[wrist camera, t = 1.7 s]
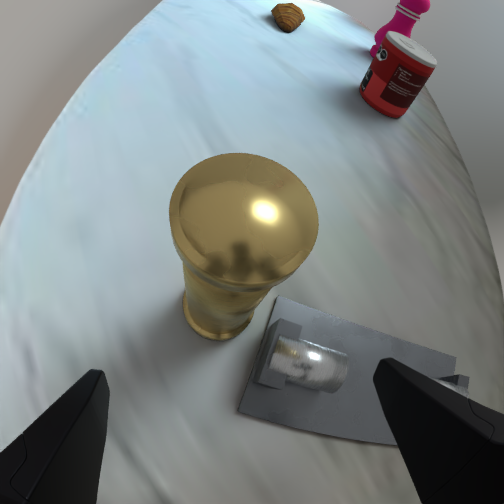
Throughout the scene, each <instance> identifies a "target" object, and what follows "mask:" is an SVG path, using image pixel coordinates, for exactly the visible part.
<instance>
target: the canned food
mask: <svg viewBox="0 0 504 504" xmlns="http://www.w3.org/2000/svg"><path fill="white" fill-rule="evenodd" d="M436 65H437V61H436V60H435V58H434V57H433V56H432V55H431V54H430V53H429V52H428V51H427V50H426V49H425V48H423V47H422V46H421V45H419V44H418V43H416V42H415V41H413V40H412V39H410V38H408V37H406V36H404V35H402V34H400V33H397V32H393V31H388V32H387V34H386V35H385V37H384V39H383V41H382V43H381V45H380V47H379V49H378V51H377V53H376V55H375V57H374V59H373V61H372V63H371V65H370V67H369V69H368V71H367V72H366V74H365V76H364V78H363V80H362V82H361V84H360V93H361V95H362V97H363V99H364V100H365V101H366V102H367V103H368V104H369V105H370V106H371V107H373V108H374V109H375V110H377V111H378V112H380V113H382V114H384V115H386V116H389V117H394V118H398V117H401V116H402V115H404V114H405V112H406V111H407V109H408V108H409V107H410V105H411V104H412V102H413V101H414V99H415V98H416V96H417V95H418V93H419V92H420V90H421V89H422V87H423V86H424V84H425V83H426V81H427V80H428V78H429V77H430V75H431V74H432V72H433V70H434V69H435V67H436Z"/></svg>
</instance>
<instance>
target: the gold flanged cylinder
mask: <svg viewBox="0 0 504 504" xmlns="http://www.w3.org/2000/svg"><path fill="white" fill-rule="evenodd" d="M169 218H170V227H171V234H172V239H173V243H174V246H175V248H176V251H177V253H178V255H179V256H180V258H181V260H182V261H183V272H184V281H185V293H184V296H183V310H184V314H185V318H186V320H187V322H188V324H189V325H190V327H191V328H192V329H193V330H194V331H195V332H196V333H197V334H199V335H200V336H202V337H204V338H207V339H210V340H216V341H222V340H227V339H231V338H233V337H235V336H237V335H239V334H240V333H241V332H242V331H243V330H244V329H245V328H246V327H247V326H248V324H249V323H250V321H251V319H252V317H253V314H254V310H255V309H256V307H257V306H258V305H259V304H260V302H261V301H262V300H263V298H264V297H265V296H266V295H267V293H268V292H269V291H270V290H271V288H272V287H274V286H276V285H278V284H280V283H281V282H283V281H285V280H286V279H287V278H289V277H290V276H291V275H292V274H293V273H294V272H295V271H296V270H297V269H298V267H299V266H300V265H301V264H302V263H303V261H304V260H305V259H306V258H307V257H308V255H309V254H310V252H311V251H312V249H313V246H314V244H315V242H316V238H317V234H318V226H319V224H318V213H317V209H316V206H315V203H314V200H313V198H312V196H311V194H310V192H309V191H308V189H307V188H306V186H305V185H304V184H303V183H302V181H301V180H300V179H299V178H298V177H297V176H296V175H295V174H294V173H292V172H291V171H290V170H288V169H287V168H286V167H284V166H282V165H281V164H279V163H277V162H275V161H273V160H270V159H268V158H265V157H262V156H258V155H253V154H247V153H228V154H221V155H217V156H213V157H211V158H208V159H205V160H203V161H202V162H200V163H198V164H196V165H195V166H193V167H192V168H191V169H190V170H188V171H187V172H186V173H185V174H184V175H183V177H182V178H181V179H180V180H179V182H178V183H177V185H176V187H175V189H174V191H173V193H172V197H171V200H170V207H169Z"/></svg>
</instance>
